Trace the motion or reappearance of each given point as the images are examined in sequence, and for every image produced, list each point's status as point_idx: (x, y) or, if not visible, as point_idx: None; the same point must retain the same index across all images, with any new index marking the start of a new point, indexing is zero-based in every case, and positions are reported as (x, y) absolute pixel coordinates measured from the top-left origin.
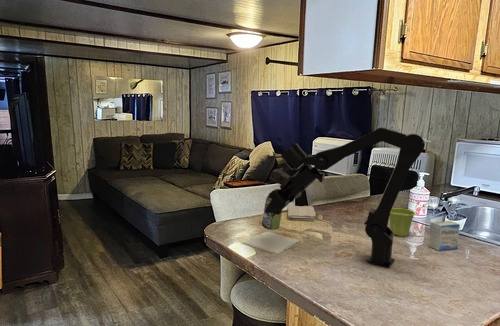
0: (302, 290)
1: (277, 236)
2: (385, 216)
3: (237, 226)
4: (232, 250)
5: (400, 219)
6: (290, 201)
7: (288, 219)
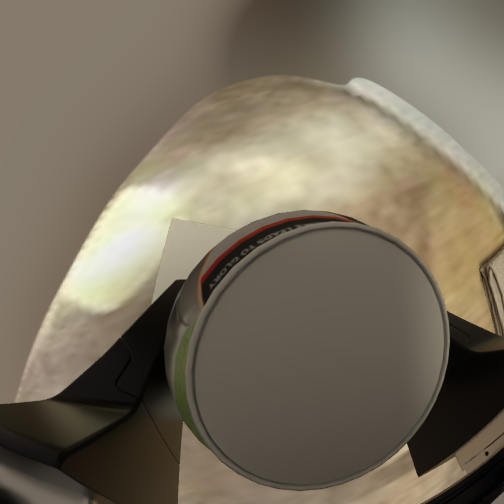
0: None
1: None
2: None
3: (334, 134)
4: (98, 219)
5: None
6: (418, 462)
7: (481, 269)
